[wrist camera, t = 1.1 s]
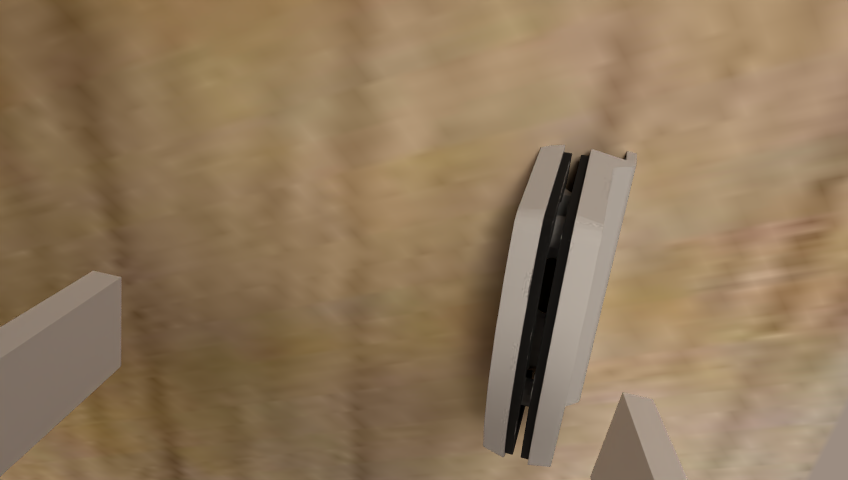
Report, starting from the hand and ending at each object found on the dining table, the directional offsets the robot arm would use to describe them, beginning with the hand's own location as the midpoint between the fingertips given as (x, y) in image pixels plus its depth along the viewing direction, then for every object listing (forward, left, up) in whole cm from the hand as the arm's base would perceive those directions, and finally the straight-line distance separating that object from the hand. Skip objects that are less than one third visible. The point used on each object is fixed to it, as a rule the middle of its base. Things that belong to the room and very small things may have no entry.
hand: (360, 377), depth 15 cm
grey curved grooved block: (+10, +7, -17) cm, 21 cm away
